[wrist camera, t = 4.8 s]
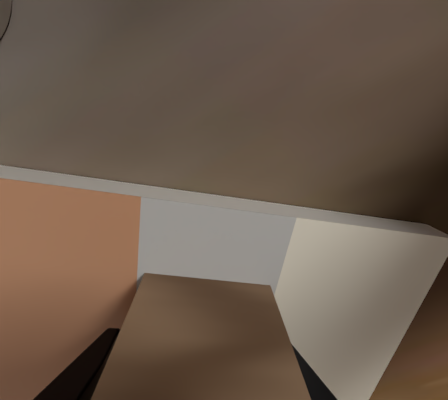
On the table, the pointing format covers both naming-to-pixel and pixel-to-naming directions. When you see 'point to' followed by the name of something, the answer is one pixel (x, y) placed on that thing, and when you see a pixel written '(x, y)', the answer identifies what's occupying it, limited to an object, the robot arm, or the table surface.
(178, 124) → the table surface
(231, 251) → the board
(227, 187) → the table surface
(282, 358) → the block
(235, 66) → the table surface
